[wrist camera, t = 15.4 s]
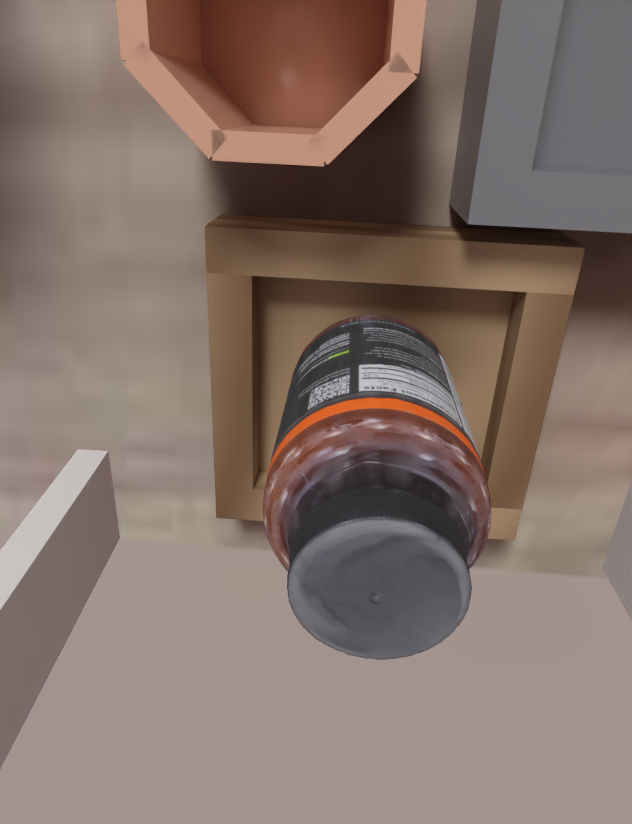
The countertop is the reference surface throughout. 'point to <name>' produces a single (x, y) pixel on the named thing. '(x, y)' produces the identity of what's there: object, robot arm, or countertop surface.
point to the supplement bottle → (376, 491)
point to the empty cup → (272, 70)
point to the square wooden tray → (395, 297)
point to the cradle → (547, 117)
